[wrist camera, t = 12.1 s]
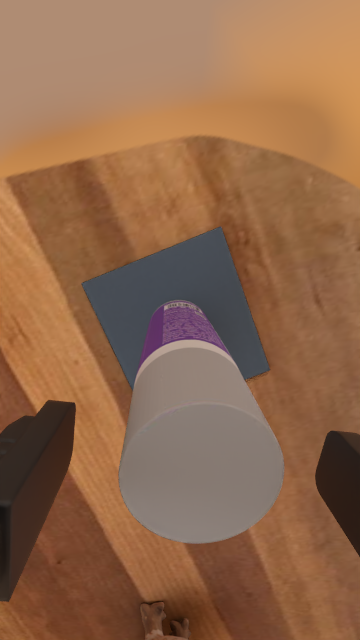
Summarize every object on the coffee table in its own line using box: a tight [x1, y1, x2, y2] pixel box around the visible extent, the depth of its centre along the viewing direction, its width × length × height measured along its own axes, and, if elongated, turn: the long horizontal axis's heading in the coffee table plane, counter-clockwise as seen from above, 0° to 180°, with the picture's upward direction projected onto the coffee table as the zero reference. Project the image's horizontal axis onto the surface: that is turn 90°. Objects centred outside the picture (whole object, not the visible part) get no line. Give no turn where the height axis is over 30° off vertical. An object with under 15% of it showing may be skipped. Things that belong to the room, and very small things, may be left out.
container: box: [119, 300, 284, 543], centre depth 15 cm, size 5×5×15 cm
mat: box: [82, 227, 270, 390], centre depth 22 cm, size 12×11×1 cm
